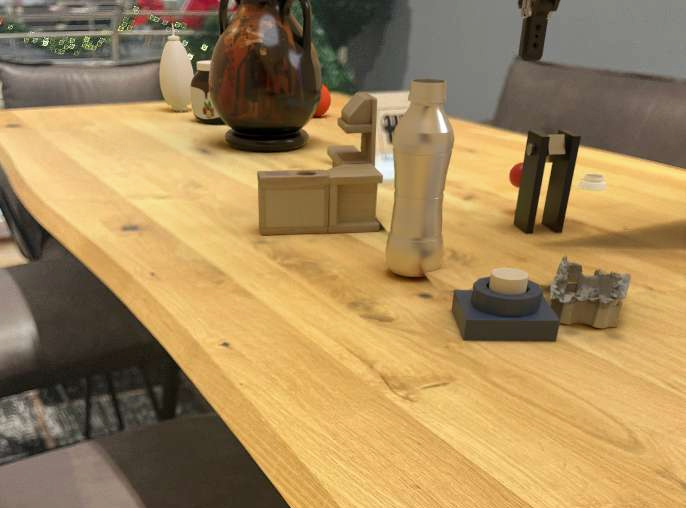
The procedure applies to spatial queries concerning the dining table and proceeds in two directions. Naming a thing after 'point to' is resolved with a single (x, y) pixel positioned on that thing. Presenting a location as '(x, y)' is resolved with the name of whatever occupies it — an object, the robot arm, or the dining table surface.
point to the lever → (553, 155)
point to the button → (508, 281)
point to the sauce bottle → (175, 74)
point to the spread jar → (203, 96)
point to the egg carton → (588, 295)
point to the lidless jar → (592, 182)
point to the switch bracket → (556, 187)
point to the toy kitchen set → (327, 184)
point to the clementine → (323, 102)
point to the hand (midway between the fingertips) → (529, 59)
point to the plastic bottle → (420, 181)
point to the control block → (504, 314)
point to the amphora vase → (265, 75)
